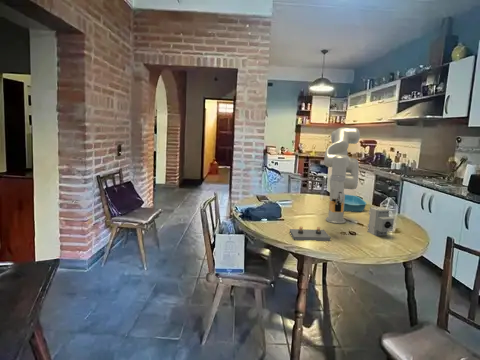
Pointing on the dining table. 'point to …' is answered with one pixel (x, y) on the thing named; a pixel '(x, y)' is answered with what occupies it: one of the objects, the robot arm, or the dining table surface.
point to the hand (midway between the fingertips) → (335, 209)
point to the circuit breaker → (379, 221)
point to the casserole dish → (354, 203)
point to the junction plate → (309, 234)
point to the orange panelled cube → (332, 206)
